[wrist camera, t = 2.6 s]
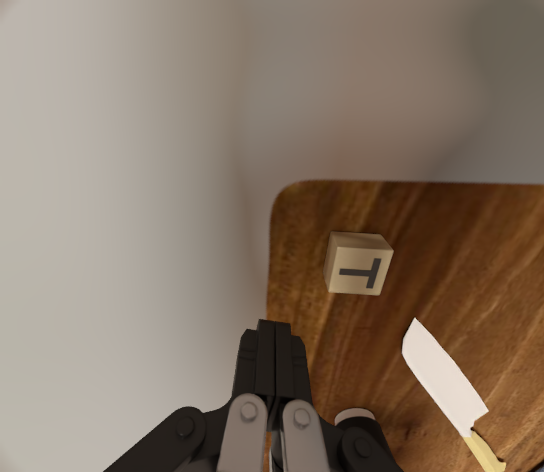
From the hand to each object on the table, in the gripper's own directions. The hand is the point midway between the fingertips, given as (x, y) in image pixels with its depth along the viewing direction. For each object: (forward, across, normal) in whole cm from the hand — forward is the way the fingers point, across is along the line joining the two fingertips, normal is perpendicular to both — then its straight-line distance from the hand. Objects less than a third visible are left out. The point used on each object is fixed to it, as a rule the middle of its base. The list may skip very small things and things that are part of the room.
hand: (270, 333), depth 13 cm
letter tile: (+9, -7, 0) cm, 11 cm away
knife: (+10, -26, +17) cm, 33 cm away
